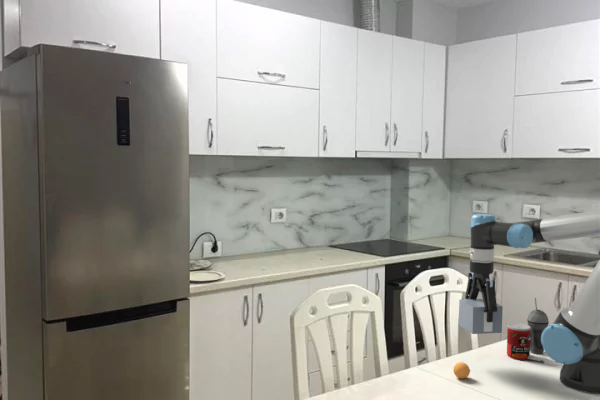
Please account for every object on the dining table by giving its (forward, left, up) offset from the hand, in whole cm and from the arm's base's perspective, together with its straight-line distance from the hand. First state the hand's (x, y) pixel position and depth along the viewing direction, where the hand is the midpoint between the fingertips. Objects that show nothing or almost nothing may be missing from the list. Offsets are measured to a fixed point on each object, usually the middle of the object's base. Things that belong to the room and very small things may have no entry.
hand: (479, 326), depth 182 cm
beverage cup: (-24, -17, -14) cm, 33 cm away
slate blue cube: (0, 0, -1) cm, 1 cm away
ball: (+8, +11, -11) cm, 17 cm away
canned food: (-16, -12, -14) cm, 25 cm away
